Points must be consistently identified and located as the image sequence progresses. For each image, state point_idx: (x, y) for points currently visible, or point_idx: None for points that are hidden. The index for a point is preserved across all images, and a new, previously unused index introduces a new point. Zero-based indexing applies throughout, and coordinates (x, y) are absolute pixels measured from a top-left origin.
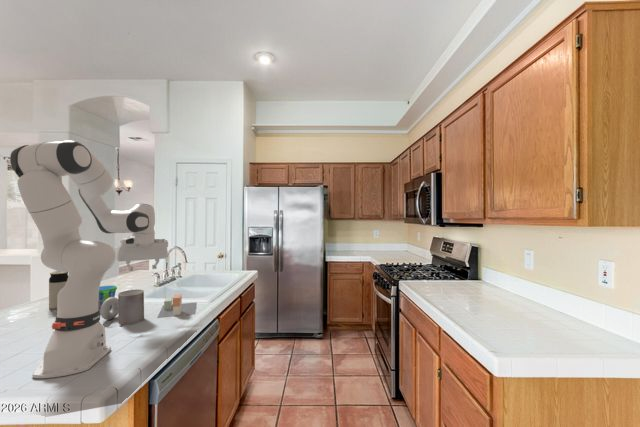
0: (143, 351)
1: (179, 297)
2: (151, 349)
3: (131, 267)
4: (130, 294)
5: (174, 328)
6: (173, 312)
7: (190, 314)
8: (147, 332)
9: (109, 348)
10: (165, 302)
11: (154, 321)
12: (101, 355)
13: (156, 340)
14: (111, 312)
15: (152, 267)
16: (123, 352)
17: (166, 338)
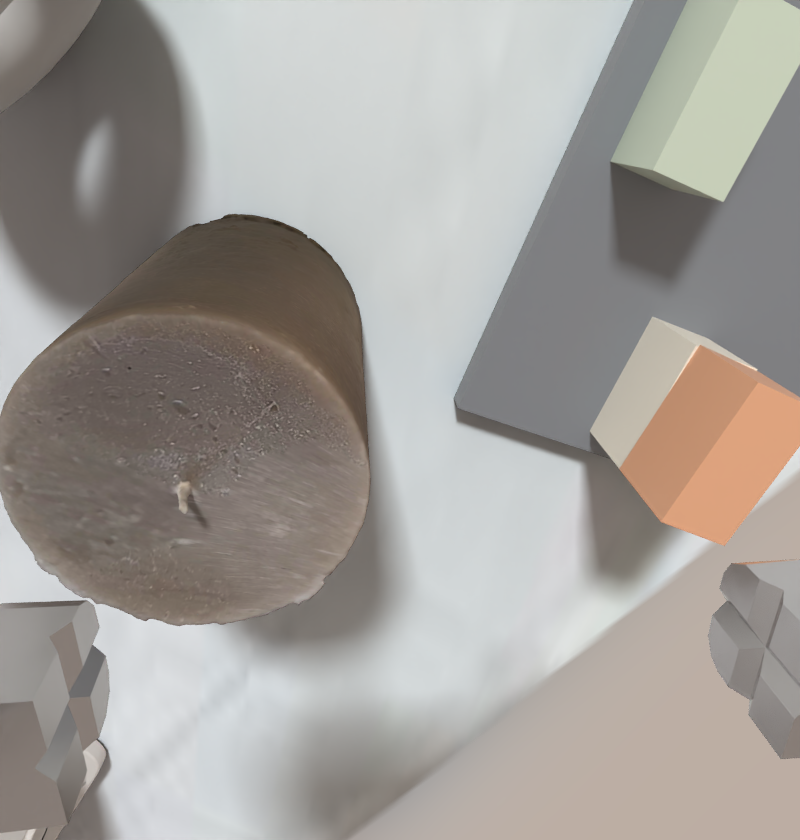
0: (262, 830)
1: (728, 531)
2: (301, 828)
3: (9, 812)
4: (171, 598)
5: (498, 633)
6: (603, 444)
7: None
8: (329, 608)
9: (93, 778)
10: (659, 175)
11: (431, 404)
12: (61, 830)
13: (348, 747)
14: (21, 23)
15: (750, 612)
16: (170, 800)
17: (403, 748)
